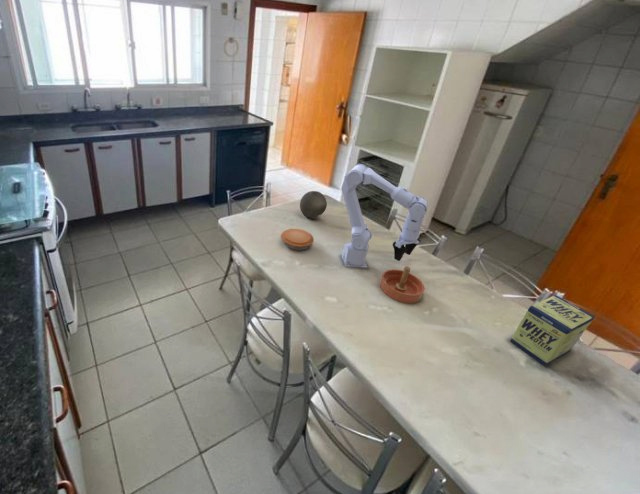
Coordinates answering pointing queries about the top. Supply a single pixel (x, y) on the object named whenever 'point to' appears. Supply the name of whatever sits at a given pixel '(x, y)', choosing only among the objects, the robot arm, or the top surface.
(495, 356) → the top surface
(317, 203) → the grey stone ball
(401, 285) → the masher
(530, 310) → the protein box
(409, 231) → the robot arm
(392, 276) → the bowl
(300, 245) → the pie
